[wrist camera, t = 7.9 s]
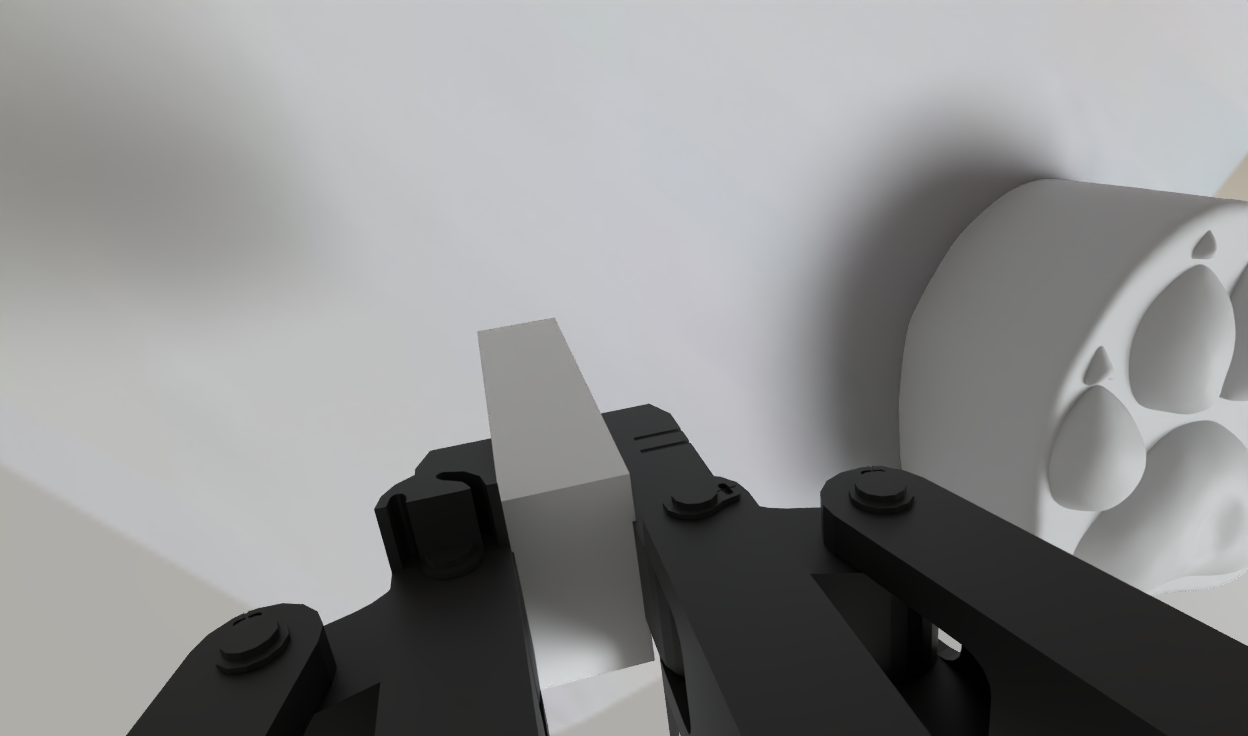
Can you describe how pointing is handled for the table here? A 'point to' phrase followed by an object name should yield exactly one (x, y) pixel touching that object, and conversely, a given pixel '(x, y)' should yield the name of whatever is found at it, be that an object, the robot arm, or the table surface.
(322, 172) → the table surface
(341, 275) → the table surface
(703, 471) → the robot arm
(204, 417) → the table surface
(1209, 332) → the lumpy-topped squat cylinder
